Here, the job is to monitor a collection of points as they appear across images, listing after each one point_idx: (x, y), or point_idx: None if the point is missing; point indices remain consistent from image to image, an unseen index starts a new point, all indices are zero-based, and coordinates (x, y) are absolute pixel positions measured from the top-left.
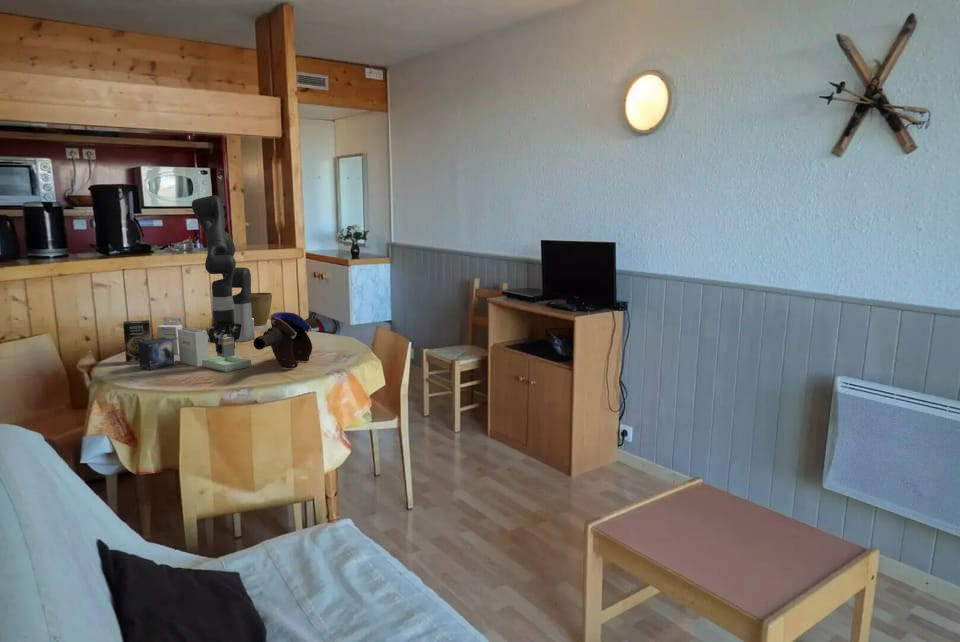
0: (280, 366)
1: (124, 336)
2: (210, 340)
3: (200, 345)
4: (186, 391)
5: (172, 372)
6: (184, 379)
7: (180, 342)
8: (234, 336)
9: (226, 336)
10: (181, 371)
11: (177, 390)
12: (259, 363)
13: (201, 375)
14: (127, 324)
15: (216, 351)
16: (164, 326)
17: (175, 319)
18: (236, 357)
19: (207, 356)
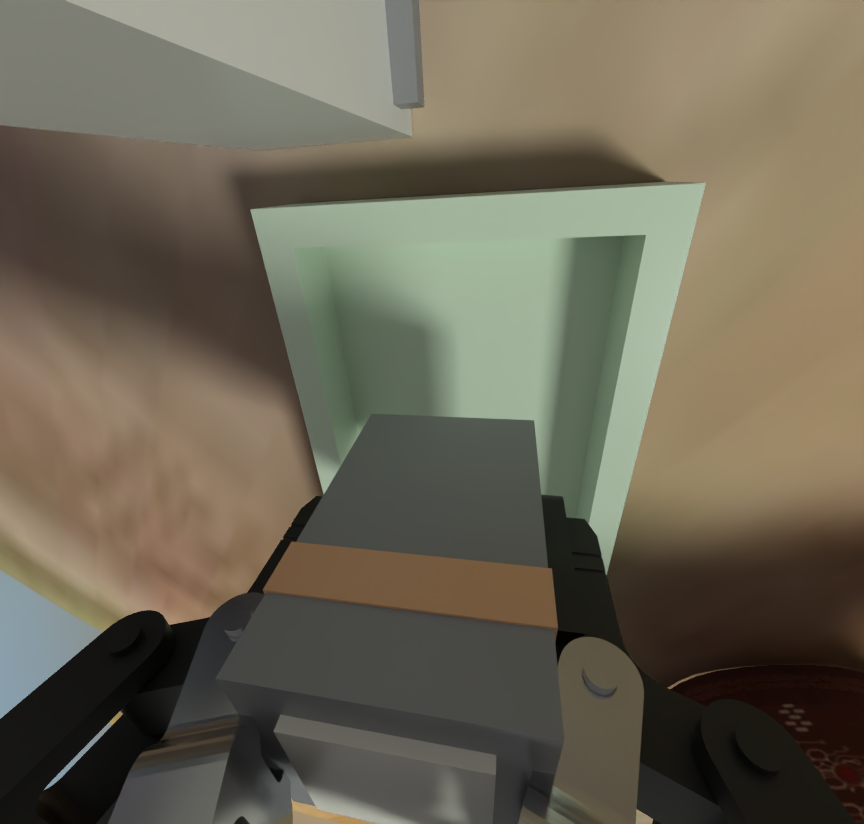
0: (682, 683)
1: None
2: (83, 674)
3: (48, 107)
4: (104, 610)
5: (4, 206)
6: (101, 468)
7: None
8: (692, 813)
9: (464, 793)
10: (82, 240)
11: (68, 579)
12: (714, 540)
13: (207, 473)
14: None
15: (308, 508)
16: None
17: None
18: (604, 451)
19: (356, 125)
